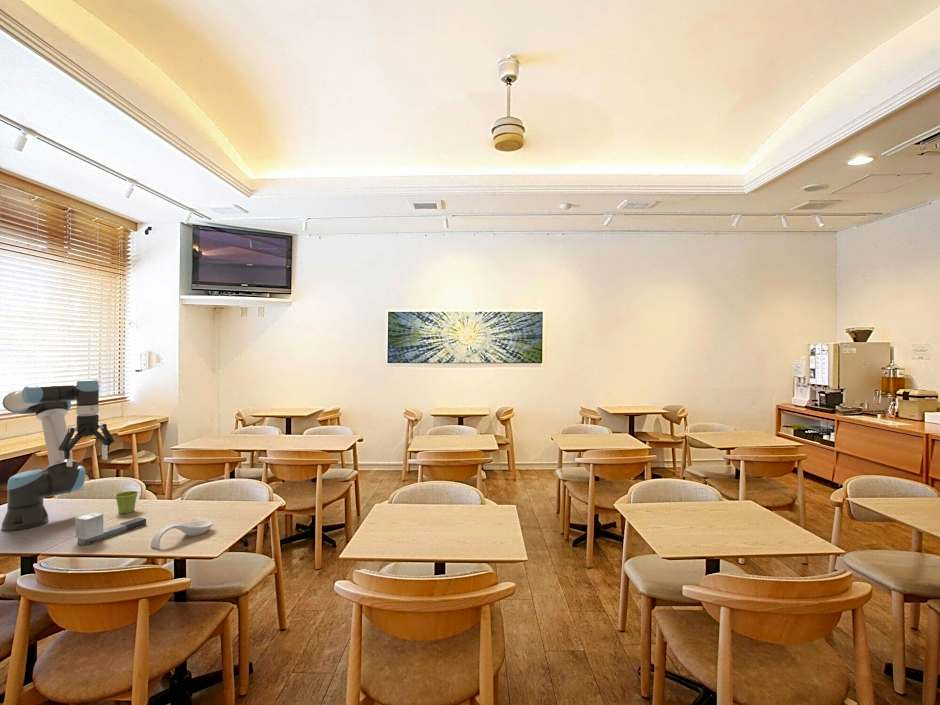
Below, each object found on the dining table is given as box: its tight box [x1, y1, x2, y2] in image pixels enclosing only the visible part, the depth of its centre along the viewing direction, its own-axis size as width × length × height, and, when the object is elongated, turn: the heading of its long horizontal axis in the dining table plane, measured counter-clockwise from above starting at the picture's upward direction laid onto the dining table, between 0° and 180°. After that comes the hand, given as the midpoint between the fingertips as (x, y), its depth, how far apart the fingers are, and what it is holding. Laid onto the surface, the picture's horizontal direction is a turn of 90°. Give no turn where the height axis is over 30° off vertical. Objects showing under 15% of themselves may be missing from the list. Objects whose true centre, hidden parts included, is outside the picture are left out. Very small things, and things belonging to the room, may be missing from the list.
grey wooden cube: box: [74, 512, 104, 540], centre depth 188 cm, size 6×6×8 cm
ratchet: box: [77, 516, 147, 546], centre depth 196 cm, size 24×5×6 cm, turn 158°
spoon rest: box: [150, 520, 214, 550], centre depth 192 cm, size 24×12×7 cm, turn 156°
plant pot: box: [114, 490, 139, 514], centre depth 223 cm, size 9×9×9 cm
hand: (87, 462), depth 203 cm, fingers open, 13 cm apart
